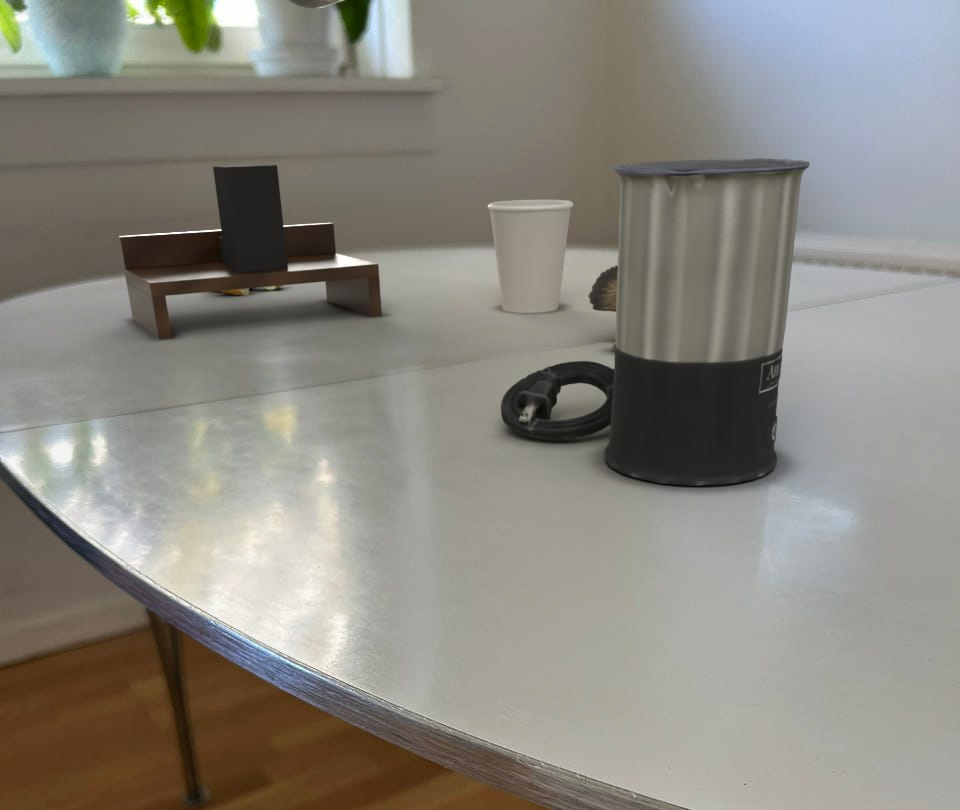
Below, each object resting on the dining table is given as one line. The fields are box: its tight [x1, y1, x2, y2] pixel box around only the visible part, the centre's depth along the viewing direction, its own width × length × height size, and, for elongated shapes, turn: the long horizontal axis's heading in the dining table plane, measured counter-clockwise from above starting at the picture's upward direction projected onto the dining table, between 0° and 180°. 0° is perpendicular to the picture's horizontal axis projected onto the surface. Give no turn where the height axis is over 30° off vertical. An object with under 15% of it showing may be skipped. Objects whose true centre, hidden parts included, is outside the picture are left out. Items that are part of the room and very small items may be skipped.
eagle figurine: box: [587, 264, 618, 353], centre depth 82 cm, size 8×7×9 cm
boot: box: [212, 163, 288, 273], centre depth 96 cm, size 9×5×9 cm, turn 27°
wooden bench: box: [118, 222, 383, 341], centre depth 99 cm, size 22×13×8 cm, turn 117°
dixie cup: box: [487, 199, 574, 314], centre depth 99 cm, size 8×8×10 cm
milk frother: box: [500, 157, 811, 487], centre depth 53 cm, size 14×16×15 cm
